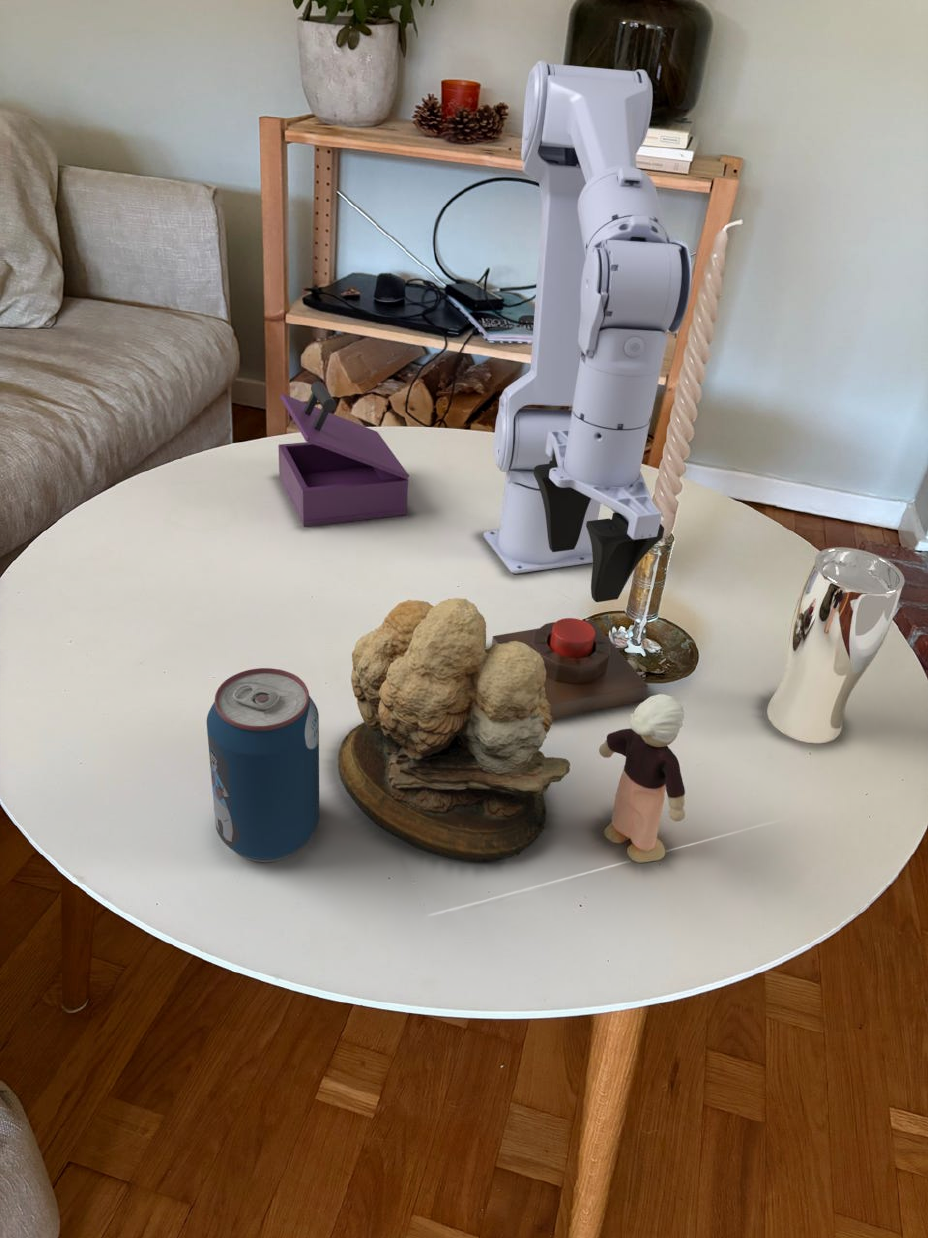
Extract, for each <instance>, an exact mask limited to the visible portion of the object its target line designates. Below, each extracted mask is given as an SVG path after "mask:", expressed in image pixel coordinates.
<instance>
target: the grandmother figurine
mask: <svg viewBox="0 0 928 1238" xmlns="http://www.w3.org/2000/svg"><path fill="white" fill-rule="evenodd" d="M629 717H630V718H629V727H630V728H623V729H619V730H617V731H612V732H610V733H608V734H607V735H606V740H604V742H603V743H602V744H600V745H599V748H598V753H599V754H600V756H601V757H603V758H604V759H609V758H611V757H612V756H613V755H614V753H615V754H616V753H617V754H619V755H622V756H623V757H625V762H624V765H623V771H622V773H621V775H620V777H619V781H618V785H617V788H616V792H615V797H614V805H613V809H612V816H611V822H610V823H608V825H607V826H606V827H605V829H604V830H603V835H604V836H605V838H606V839H608V840H609V841H610V842H612V843H614V844H621V843H624V842H626V841H628V840H630V841H631V844H630V845H629V846H628V847H627V848H626V854H627V855H628V856H629V858H630V859H631V860H632V861H634V862H635V863H638V864H639V863H640V864H641V863H648V862H655V861H660V860H662V859H663V858H664V857H665V856H666V848H665V845H664V844H663V842H662V841H661V839H659V838H658V833H659V827H660V821H661V818H662V813H663V808H664V804H665V799H666V798H665V797H666V795H667V801H668V806H669V810H668V815H669V819H671V821H674V822H682V821H683V820H685V817H686V810H685V809H684V807H685V794H686V789H685V786H684V781H683V776H682V773H681V767H680V762H679V760H678V757H677V756H676V755H675V754H674V752H673V751H672V750H671V748H670V747H669V745H671V744H673V742H674V741H675V740H676V739H677V737H678V734H679V733H680V729H681V728H683V720H684V719H685V712H684V706H683V704H682V703H680V701H678V700H677V699H676V698H675V697H674V696H671V695H668V694H666V693H665V694H664V693H662V694H661V693H660V694H655V695H651V696H649V697H648V698H646V699H644V701H641V702H640V703H639V704H638V705H637V707H636V708H635V710H634V711H633V713H630V714H629Z"/></svg>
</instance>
